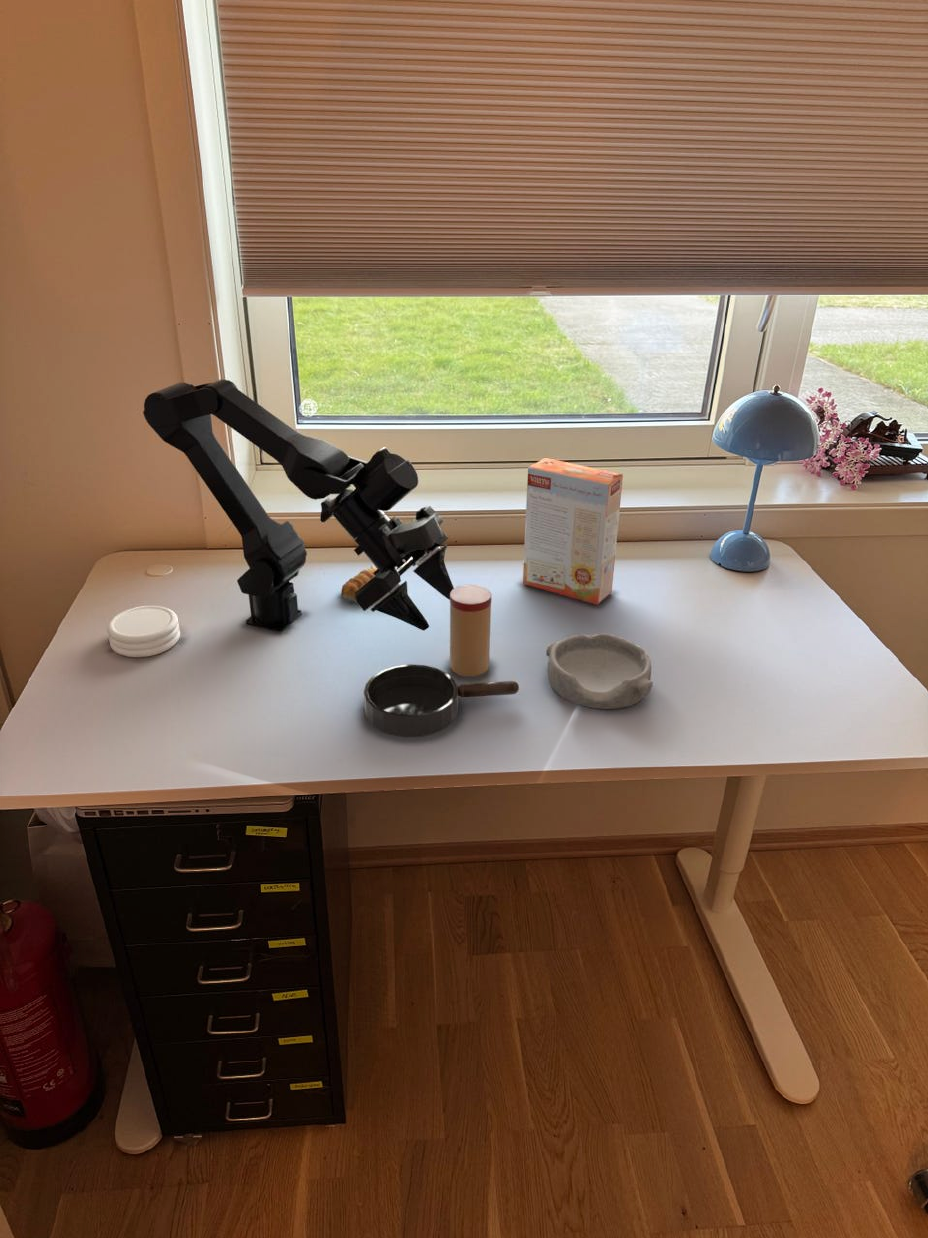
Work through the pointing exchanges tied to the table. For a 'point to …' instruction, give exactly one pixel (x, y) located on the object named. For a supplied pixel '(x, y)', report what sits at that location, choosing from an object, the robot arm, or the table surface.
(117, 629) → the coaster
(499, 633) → the table surface
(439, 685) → the pan
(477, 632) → the cracker tube
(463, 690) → the pan handle
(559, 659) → the dish
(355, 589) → the pastry
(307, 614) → the table surface
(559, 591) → the cracker box
